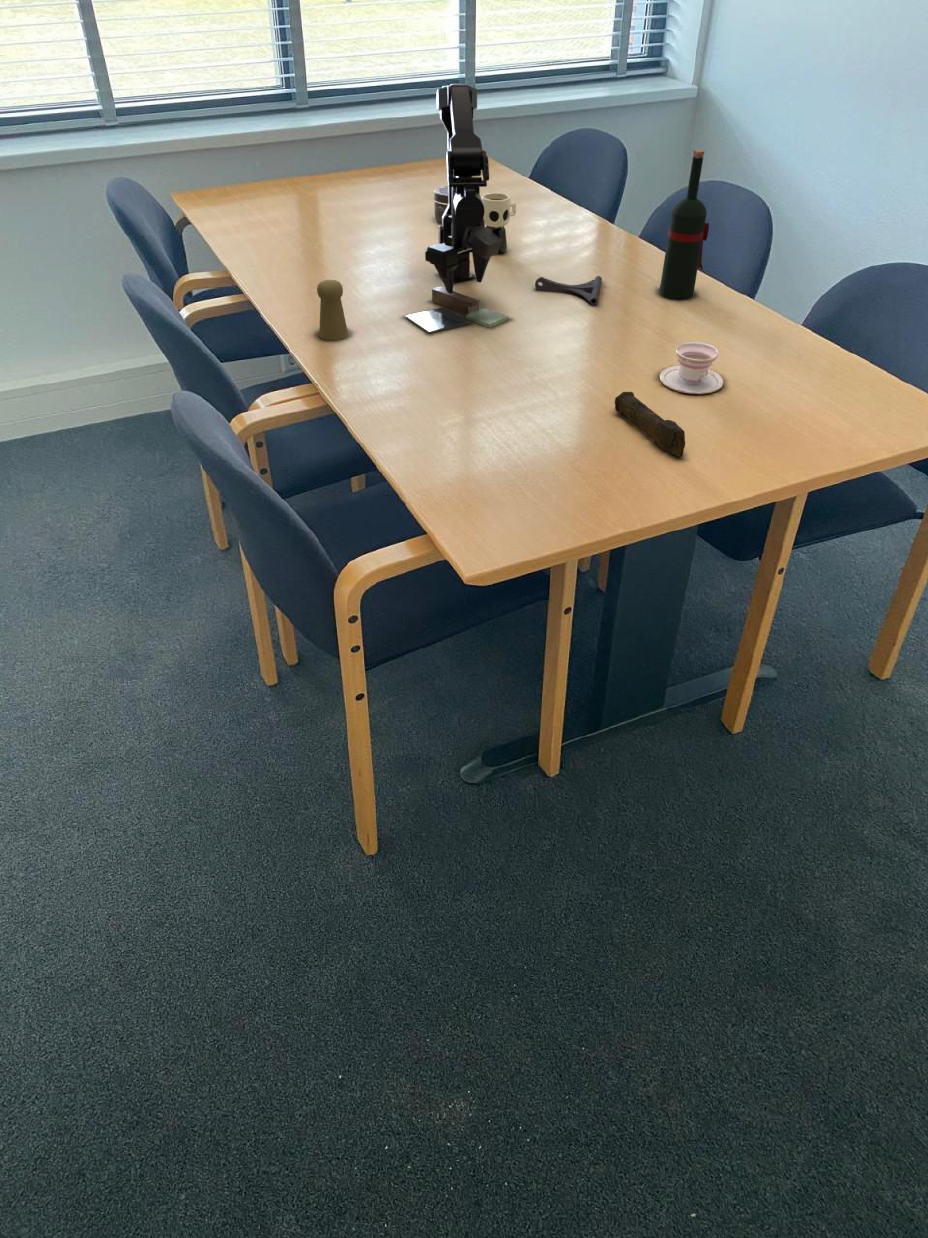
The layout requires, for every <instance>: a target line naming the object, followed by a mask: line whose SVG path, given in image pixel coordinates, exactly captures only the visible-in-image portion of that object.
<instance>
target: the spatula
mask: <svg viewBox="0 0 928 1238" xmlns="http://www.w3.org/2000/svg"><path fill="white" fill-rule="evenodd" d="M431 303H433V304H436V305H438V306H442V307H446V308H448V309H449V310H451V311H455V312H457V313H461V314H464V315H465V320H467V321H469V322H473V323H476V324H478V325H480V326H481V325H482V326H484V327H486V328H489V329H490V328H493V327H496V326H498V325H500V324H503V323H505V322H507V321H509V316H508V315H505V314H503V313H500V312H497V311H495V310H492V309H489V308H486V307H483V308H480V300H479V299H477V298H474V297H471V296H469V295H466V294H463V293H461V292H458V291H454V290H453V292H452V293H451V294H450V293H448V292H447V290H446V288H445V287H444V286H439V285H438V286H436V287H433V288H432V289H431Z"/></svg>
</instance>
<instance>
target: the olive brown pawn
mask: <svg viewBox="0 0 928 1238" xmlns="http://www.w3.org/2000/svg"><path fill="white" fill-rule="evenodd" d="M343 293H344V287H343V284H342V282H341V281H339V280H336V279H323V280H321V281H320V282H318V284H317V287H316V294H317V296H318V297H319V299H320V305H319V306H320V307H319V328H318V329H319V330H318V331H319V333H318V335H319V338H321V339H322V340H325V341H339V340H343V339H345V338H348V336H349V332H348V326H347V322H346V317H345V312H344V306H343V302H342V297H343Z"/></svg>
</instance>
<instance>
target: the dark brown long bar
mask: <svg viewBox="0 0 928 1238" xmlns="http://www.w3.org/2000/svg"><path fill="white" fill-rule="evenodd" d="M614 410H615V411H616V412H617V413H619V414H620V416H623V415H624V416H626V417H627V418H628V419H629V420H631V421H632V422H633V423H634V424H636V426H638V427H639V428H640V429H642V430H643V431H645V432H646V433H647V434H648V435H649V436H651V437H652V438H653V439H654V440H655V442H656V445H657V446H658V448H660V449H662V450H663V451H665V452H668V453H669V454H671V455H674V456H676V457H678V458H682V457H683V455H684V452H685V448H686V434H685V430H684V429H683V428H682V427H681V426H680V425H678V423H677V422H676V421H674V420H670V419H664V418H662V417H661V416H660V415H659V414H658V413H656V412H655V411H654V410H652V409H651V408H650V407H648V406H647V405H646V403H645V404H644V403H643V402H642V401H640V400H639V398H638V397H636V396H635V394H634V392H633V391H623V392H621V393H620V394H619V395H617V396H616V397H615V399H614Z"/></svg>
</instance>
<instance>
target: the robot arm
mask: <svg viewBox="0 0 928 1238" xmlns="http://www.w3.org/2000/svg"><path fill="white" fill-rule="evenodd" d="M477 109H478V88H476V87H473V86H472V85H471V84H469V83H450V85H442V86H441V88H437V91H436V111H439V119H440V121H441V123H442V125H443V127H444V129H445V131H446V133H447V134H446V136H447V138H446V139H447V140H446V141H447V150H446V156H445V157H446V160H445V161H446V177H447V186H448V206H447V208H446V210H445V212H444V214H443V216H442V224H441V225H439V226H438V235H437V236H438V241H437V243H435V244H432V245H430V246H427V248H426V249H424V258H425V259H424V260H425V262H428V263H429V264H431V265H433V266H434V268H435V270H436V271H437V273H438V275H439V277H440V279H441V282H442V283H443V285H444V286H443V287H444V288H446V290H447V292H448V293H450V294H451V293H452V292H453V291H454V283H457V282H462V281H463V282H464V281H468V280H472V279H475V281H476V282H477V283H482V282H483V279H484V276H485V273H486V270H487V267H488V265H489V262H490V259H491V258H492V257H493V256H497V255H498V253H499V251H500V250H499V248H500V247H503V245H505V242H504V241H505V230H506V228H505V229H503V228H502V227H501V226H499V227H496V228H494V229H493V230H492V229H491V228H490V229H488V228H486V225H484V219H483V217H484V213H485V209H484V205H483V202H482V199H481V198H482V195H481V193H480V192H481V188H487V187H488V181H490V167H489V166H490V165H489V156H488V155H487V152H486V150H483V144H482V139H481V138H480V137H479V136H478V135H477V134H476V133H475V130H474V111H476V110H477ZM471 255H472V263H473V270H474V274H473V273H471V258H470V257H471Z"/></svg>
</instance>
